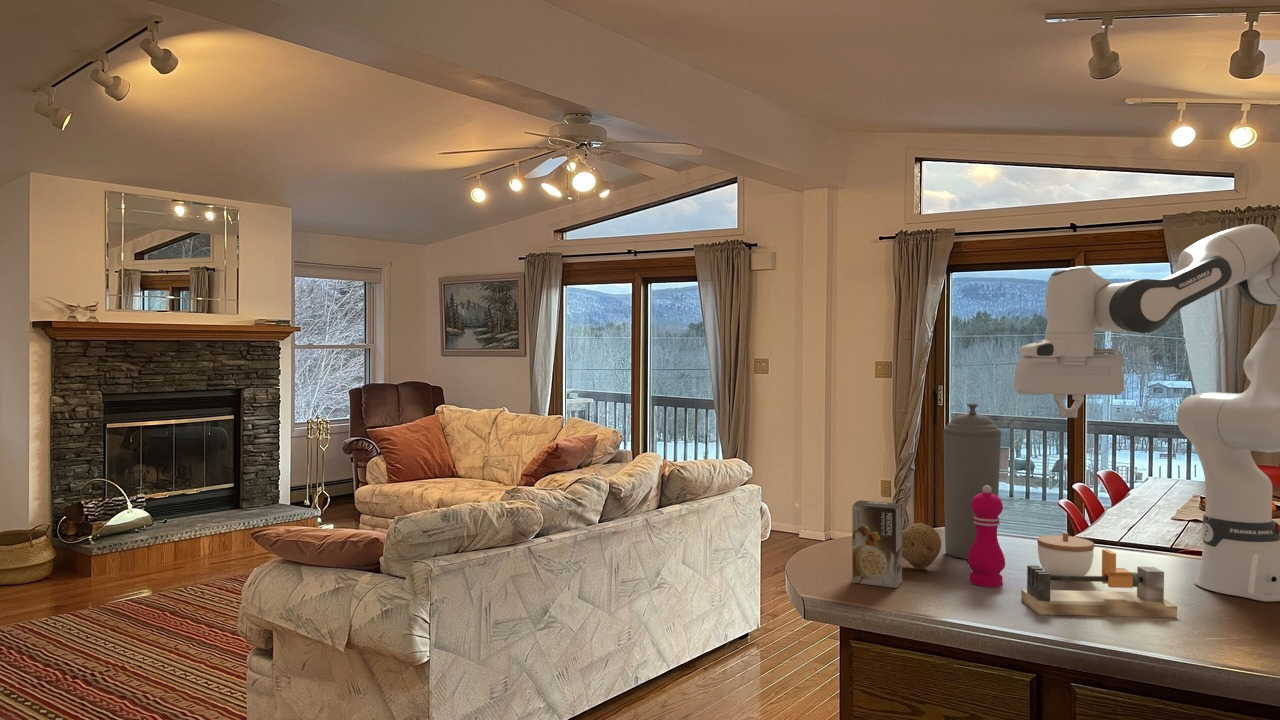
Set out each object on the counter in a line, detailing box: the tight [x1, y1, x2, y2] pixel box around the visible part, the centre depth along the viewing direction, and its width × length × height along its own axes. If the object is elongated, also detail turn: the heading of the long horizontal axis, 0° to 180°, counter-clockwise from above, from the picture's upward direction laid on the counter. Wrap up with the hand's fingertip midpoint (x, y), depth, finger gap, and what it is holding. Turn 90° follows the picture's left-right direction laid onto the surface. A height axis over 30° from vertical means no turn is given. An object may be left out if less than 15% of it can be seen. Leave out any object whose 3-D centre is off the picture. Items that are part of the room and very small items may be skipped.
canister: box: [942, 402, 1003, 560], centre depth 206 cm, size 13×13×35 cm
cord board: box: [1020, 564, 1178, 618], centre depth 166 cm, size 24×9×8 cm, turn 86°
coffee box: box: [851, 499, 903, 589], centre depth 183 cm, size 9×6×16 cm
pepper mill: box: [966, 485, 1006, 588], centre depth 182 cm, size 7×7×20 cm
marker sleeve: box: [1101, 548, 1134, 589], centre depth 165 cm, size 4×3×6 cm
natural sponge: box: [902, 522, 942, 570], centre depth 193 cm, size 9×9×10 cm
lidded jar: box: [1036, 531, 1095, 576], centre depth 187 cm, size 11×11×9 cm
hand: (1068, 417), depth 179 cm, fingers closed
